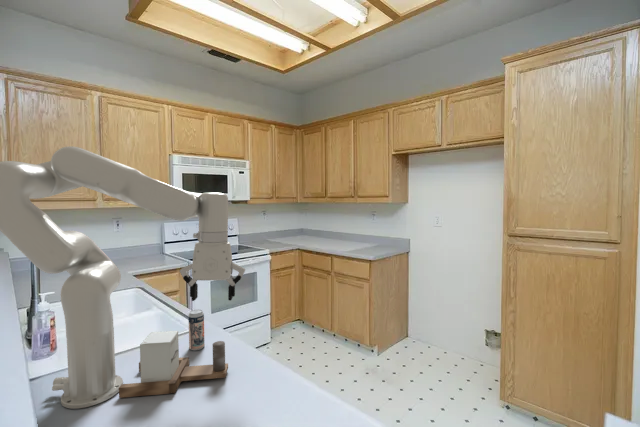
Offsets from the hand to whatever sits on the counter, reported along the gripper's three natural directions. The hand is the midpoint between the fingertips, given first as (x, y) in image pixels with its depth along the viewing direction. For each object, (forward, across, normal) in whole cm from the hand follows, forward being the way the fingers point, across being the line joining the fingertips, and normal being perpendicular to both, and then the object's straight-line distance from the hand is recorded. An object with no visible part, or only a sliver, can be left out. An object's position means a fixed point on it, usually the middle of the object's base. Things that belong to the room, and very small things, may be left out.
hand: (212, 299), depth 88 cm
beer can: (+21, -8, +16) cm, 27 cm away
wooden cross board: (+21, -8, -3) cm, 22 cm away
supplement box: (+21, -12, -4) cm, 25 cm away
